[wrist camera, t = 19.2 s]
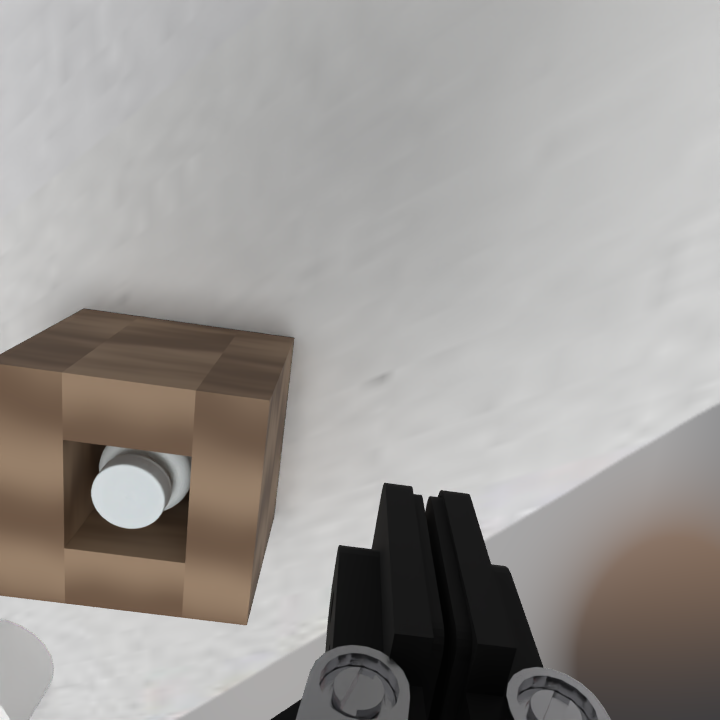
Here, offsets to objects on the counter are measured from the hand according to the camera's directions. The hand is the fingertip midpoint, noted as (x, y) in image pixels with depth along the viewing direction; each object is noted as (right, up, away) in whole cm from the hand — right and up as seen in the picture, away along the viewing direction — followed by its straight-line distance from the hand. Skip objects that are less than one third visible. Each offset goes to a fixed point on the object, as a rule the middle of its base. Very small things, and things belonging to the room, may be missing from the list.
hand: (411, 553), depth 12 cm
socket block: (-13, 0, +31) cm, 34 cm away
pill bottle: (-13, 0, +30) cm, 33 cm away
